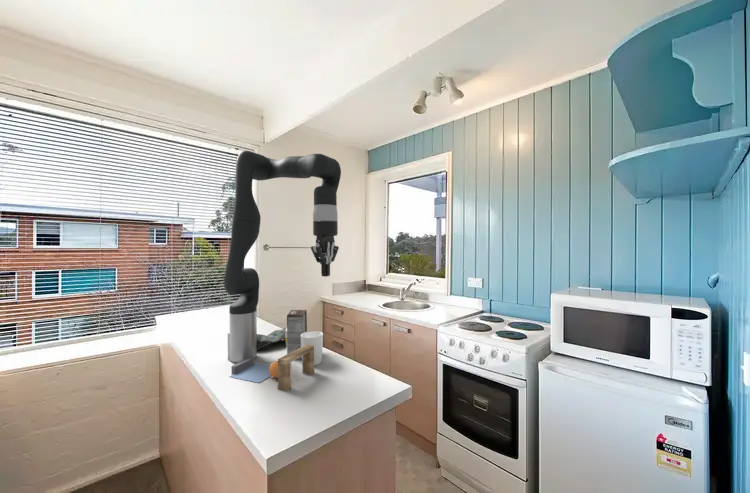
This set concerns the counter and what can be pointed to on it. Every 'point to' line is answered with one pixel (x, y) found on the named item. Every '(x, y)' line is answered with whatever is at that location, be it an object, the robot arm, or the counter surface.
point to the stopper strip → (242, 365)
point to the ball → (274, 369)
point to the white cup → (315, 340)
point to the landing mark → (254, 373)
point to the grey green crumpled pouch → (270, 338)
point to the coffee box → (295, 329)
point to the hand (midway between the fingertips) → (325, 276)
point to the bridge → (285, 365)
